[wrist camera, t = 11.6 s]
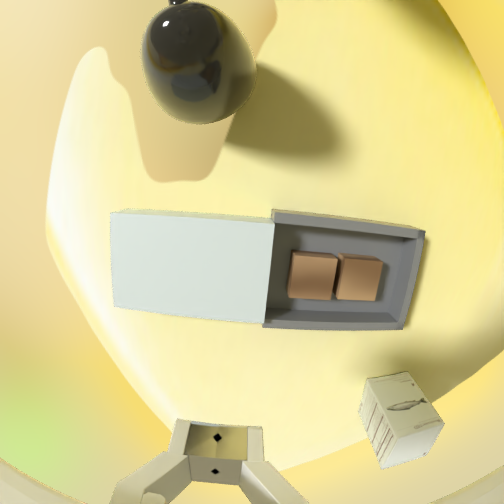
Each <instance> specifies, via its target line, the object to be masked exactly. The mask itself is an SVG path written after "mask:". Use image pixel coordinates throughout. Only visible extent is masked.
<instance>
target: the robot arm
mask: <svg viewBox="0 0 504 504" xmlns="http://www.w3.org/2000/svg"><path fill="white" fill-rule="evenodd" d="M191 481H198V482H209V483H219V484H230V485H239V487H240V488H241V489H242V491H243V492H244V494H245V495H246V497H247V498H248V499H249V501H250V502H251V504H309V502H308V501H307V500H306V499H305V498H304V497H303V496H302V495H301V494H300V493H299V492H298V491H297V490H296V489H295V488H294V487H292V486H291V484H290V483H288V481H287V480H286V479H285V478H284V477H283V476H282V475H281V474H280V473H279V472H278V471H277V470H276V469H275V468H274V467H273V466H272V465H271V464H270V463H269V462H268V461H264V447H263V429H262V427H257V426H239V425H223V424H210V423H203V422H196V421H189V420H183V419H177V420H176V422H175V425H174V429H173V432H172V436H171V440H170V444H169V448H168V451H167V452H164V451H163V452H162V453H160V454H159V455H157V456H156V457H155V458H153V459H152V460H150V461H149V462H147V463H146V464H144V465H143V466H142V467H140V468H139V469H137V470H136V471H134V472H133V473H131V474H130V475H128V476H127V477H125V478H124V479H122V480H120V481H119V482H117V484H116V487H115V490H114V492H113V495H112V498H111V501H110V503H109V504H169V503H170V502H171V501H172V500H173V499H174V498H175V497H176V496H178V495H179V494H180V493H181V492H182V491H183V490H184V489H185V488H186V487H187V486H188V485H189V484H190V483H191ZM0 504H87V503H84V502H81V501H79V500H77V499H74V498H72V497H70V496H68V495H65V494H63V493H61V492H59V491H57V490H55V489H53V488H51V487H49V486H47V485H45V484H43V483H41V482H39V481H37V480H36V479H34V478H32V477H30V476H28V475H27V474H25V473H23V472H22V471H20V470H18V469H17V468H15V467H14V466H12V465H10V464H9V463H7V462H6V461H4V460H3V459H1V458H0ZM429 504H504V466H502V467H499V468H498V469H496V470H495V471H493V472H491V473H490V474H488V475H486V476H484V477H483V478H481V479H479V480H478V481H476V482H474V483H472V484H470V485H468V486H466V487H464V488H462V489H460V490H458V491H456V492H454V493H452V494H450V495H447V496H445V497H443V498H441V499H438V500H436V501H433V502H431V503H429Z"/></svg>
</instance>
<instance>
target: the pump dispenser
mask: <svg viewBox="0 0 504 504" xmlns="http://www.w3.org/2000/svg"><path fill="white" fill-rule="evenodd" d="M168 2H169V6H167V7H166V8H164V9H162V10H161V11H159V12H158V13H157V14H156V15H155V16H154V17H153V18H152V19H151V20H150V22H149V24H148V25H147V27H146V29H145V31H144V34H143V38H142V42H141V52H140V53H141V64H142V70H143V75H144V78H145V82H146V85H147V87H148V89H149V91H150V93H151V95H152V97H153V99H154V100H155V102H156V103H157V105H158V106H159V107H160V108H161V109H162V110H163V111H164V112H165V113H167V114H168V115H169V116H171V117H172V118H174V119H176V120H179V121H181V122H185V123H190V124H207V123H213V122H216V121H220V120H222V119H224V118H227V117H228V116H230V115H232V114H233V113H235V112H236V111H238V110H239V109H240V108H241V107H242V106H243V105H244V104H245V103H246V101H247V100H248V99H249V97H250V96H251V94H252V92H253V89H254V86H255V83H256V75H257V70H256V62H255V58H254V55H253V52H252V50H251V47H250V45H249V43H248V41H247V39H246V38H245V36H244V34H243V33H242V31H241V30H240V29H239V28H238V26H237V25H236V24H235V23H234V22H233V20H232V19H230V17H228V16H227V15H226V14H225V13H223V12H222V11H221V10H219V9H217V8H216V7H213V6H211V5H209V4H206V3H202V2H194V1H188V0H168Z"/></svg>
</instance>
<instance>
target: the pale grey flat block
mask: <svg viewBox="0 0 504 504" xmlns="http://www.w3.org/2000/svg"><path fill="white" fill-rule="evenodd" d="M274 227H275V224H274V222H273V221H272V219H271V218H262V217H251V216H239V215H226V214H212V213H198V212H183V211H166V210H148V209H124V210H120V211H116V212H112V213H110V244H111V270H112V286H113V299H114V307H119V308H125V309H132V310H139V311H146V312H153V313H161V314H168V315H177V316H185V317H194V318H204V319H214V320H225V321H237V322H250V323H264V319H265V310H266V301H267V293H268V284H269V275H270V265H271V256H272V246H273V237H274Z"/></svg>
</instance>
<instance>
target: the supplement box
mask: <svg viewBox="0 0 504 504" xmlns="http://www.w3.org/2000/svg"><path fill="white" fill-rule="evenodd" d="M358 412H359V415H360V417H361V420H362V422H363V425H364V427H365V430H366V432H367V435H368V437H369V440H370V442H371V444H372V447H373V449H374V452H375V454H376V457H377V459H378V462H379V465H380V468H381V469H385V468H389V467H392V466H395V465H399V464H402V463H405V462H408V461H411V460H414V459H417V458H420V457H423V456H426V455H427V454H428V452H429V451H430V449H431V447H432V446H433V444H434V442H435V440H436V439H437V437H438V435H439V433H440V431H441V430H442V428H443V426H444V424H445V423H444V422H443V420H442V419H441V417H440V416H439V414H438V413H437V412H436V410H435V409H434V407H433V406H432V404H431V403H430V401H429V400H428V399H427V397H426V396H425V395H424V393H423V392H422V390H421V389H420V388H419V386H418V385H417V383H416V382H415V381H414V379H413V378H412V377H411V375H410V374H409V373H408V372H403V373H399V374H394V375H389V376H384V377H377V378H369V379H367V380H366V384H365V388H364V392H363V395H362V399H361V403H360V406H359V410H358Z"/></svg>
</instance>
